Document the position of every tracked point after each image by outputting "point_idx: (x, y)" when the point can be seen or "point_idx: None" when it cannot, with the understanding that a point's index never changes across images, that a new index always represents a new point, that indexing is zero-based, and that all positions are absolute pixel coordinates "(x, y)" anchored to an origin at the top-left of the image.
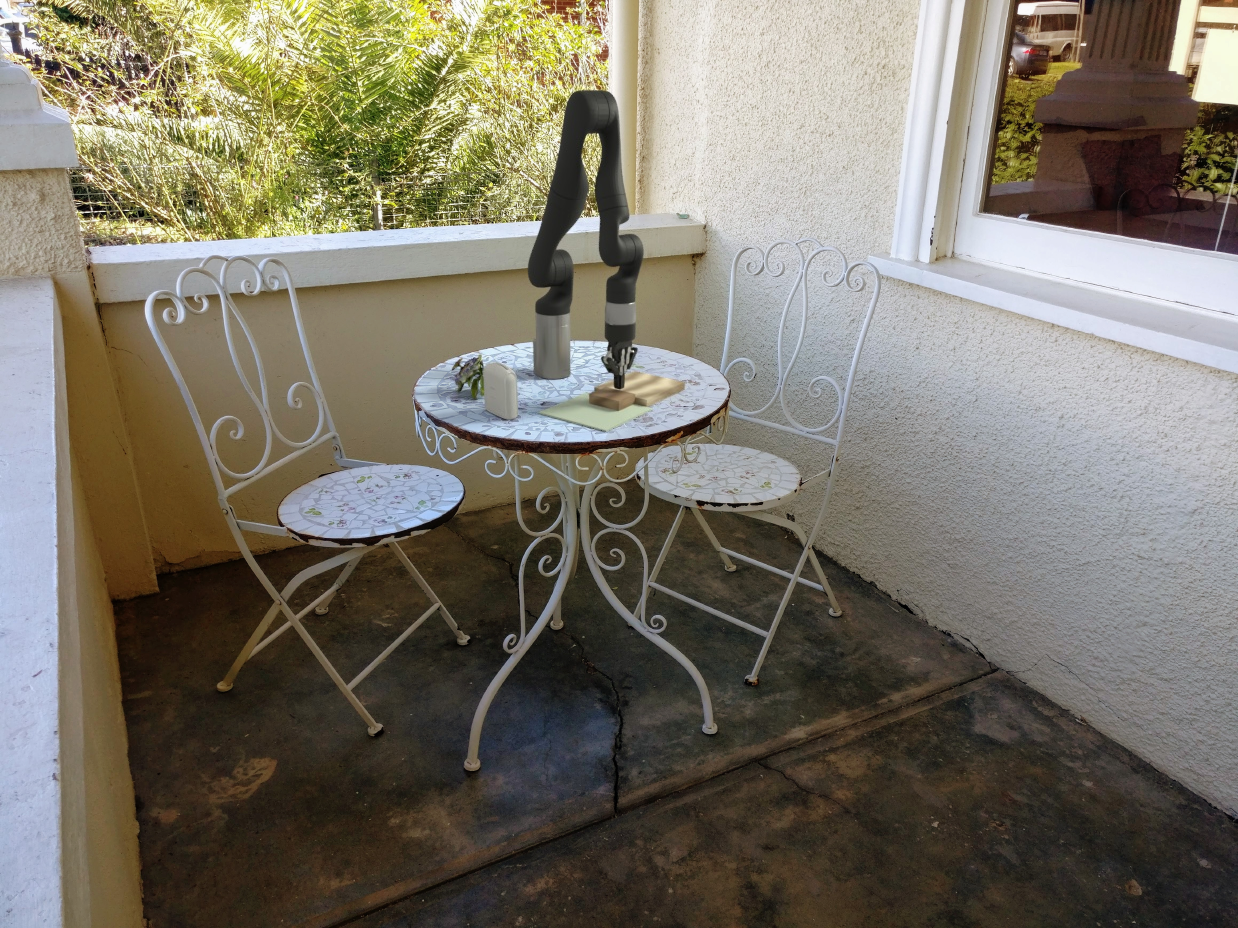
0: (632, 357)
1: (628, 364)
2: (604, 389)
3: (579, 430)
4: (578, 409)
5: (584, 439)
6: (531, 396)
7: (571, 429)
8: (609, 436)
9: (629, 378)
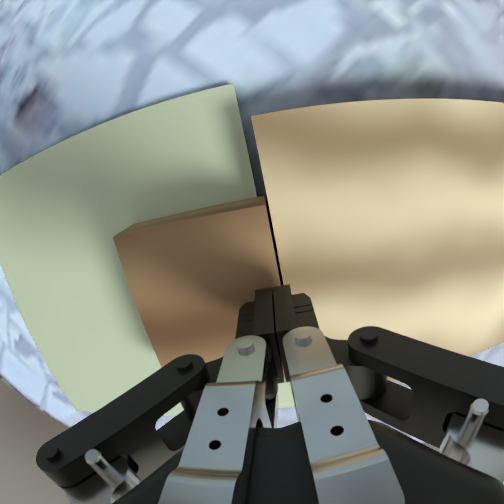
0: (426, 435)
1: (367, 409)
2: (223, 235)
3: (27, 358)
4: (67, 251)
5: (27, 391)
6: (52, 12)
7: (14, 340)
8: (75, 420)
9: (482, 153)
